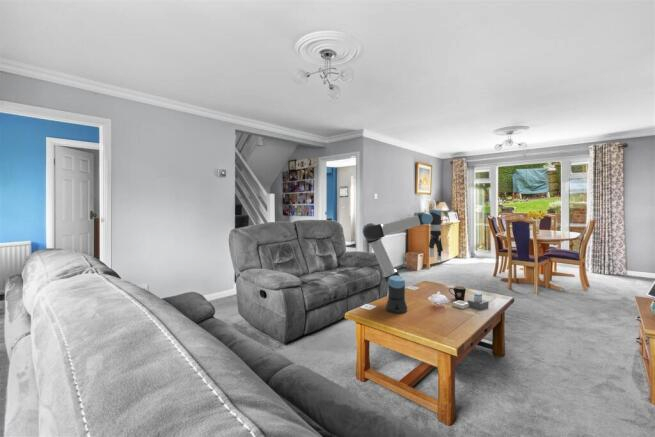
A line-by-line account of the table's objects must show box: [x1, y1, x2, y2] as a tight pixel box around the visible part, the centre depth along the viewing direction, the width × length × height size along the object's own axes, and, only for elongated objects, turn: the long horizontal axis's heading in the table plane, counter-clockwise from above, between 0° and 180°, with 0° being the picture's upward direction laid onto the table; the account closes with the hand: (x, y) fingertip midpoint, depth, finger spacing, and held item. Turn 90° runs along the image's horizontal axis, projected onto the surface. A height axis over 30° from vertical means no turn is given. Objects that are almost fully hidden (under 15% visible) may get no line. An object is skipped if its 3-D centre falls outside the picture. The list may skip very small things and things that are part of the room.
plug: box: [473, 292, 483, 302], centre depth 228 cm, size 4×4×10 cm
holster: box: [452, 300, 470, 310], centre depth 228 cm, size 8×8×4 cm
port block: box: [467, 297, 489, 310], centre depth 228 cm, size 10×10×5 cm
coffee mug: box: [448, 285, 467, 301], centre depth 246 cm, size 12×9×10 cm
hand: (435, 258), depth 233 cm, fingers open, 13 cm apart
